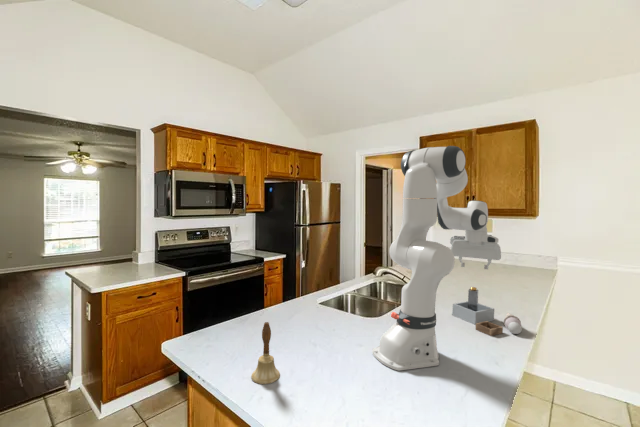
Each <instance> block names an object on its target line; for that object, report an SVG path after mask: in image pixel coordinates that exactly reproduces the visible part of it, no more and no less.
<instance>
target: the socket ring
mask: <svg viewBox="0 0 640 427" xmlns="http://www.w3.org/2000/svg"><path fill="white" fill-rule="evenodd" d="M503 330H504V326H501V325H498V324H496V323H493V322H492V321H489V322H488V321H485V322H480V323H476V325H475V331H477V332H480V333H482V334H486V335H488V336H490V337H493V336H498V335H501V334H502V335H503V333H504V332H503Z"/></svg>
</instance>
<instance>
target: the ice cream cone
mask: <svg viewBox="0 0 640 427" xmlns="http://www.w3.org/2000/svg"><path fill="white" fill-rule="evenodd" d="M503 325H504V326H505V328H506V329H507V330H508V331H509V332H510V333H511V334H513V335H519V334H520V333H521V332H522V323H521V320H520V318H518V317H517V316H515V315H514V314H511V313H509V312H507V313H506V315H505V317H504V320H503Z"/></svg>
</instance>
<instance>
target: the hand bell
mask: <svg viewBox="0 0 640 427" xmlns="http://www.w3.org/2000/svg"><path fill="white" fill-rule="evenodd" d="M271 337H272V330H271V326H270V322H269V321H266V322H264V323H263V327H262V330H261V338H262V343H263V350H262V351H263V355H261V356H259V357H258V360H257V361H258V362H257V366H256V368H255V370H254V371H253V372H252V373H251V376H250V377H251V380H252V382H254V383H256V384H259V385H269V384H270V385H271V384H273V383H275V382H277V381H278V380H279V379H280V377H281V373H280V371H279V370H278V369H277V368H276V365H275V359H274V356H273V355H271V354H270V341H271Z"/></svg>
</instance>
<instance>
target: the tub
mask: <svg viewBox="0 0 640 427" xmlns="http://www.w3.org/2000/svg"><path fill="white" fill-rule="evenodd" d="M451 315H452V316H453V317H456V318H458V319H461V320H462V321H466V322H468V323H470V324H472V325H475V326H476V323H480V322H485V321H488V322H493V321H495V308H493V307H491V306H487V305H485V304H481V303H479V302H478V311H476V312H475V311H473V310H470V309H468V300H467V301H461V302H457V303H456V302H455V303H452V314H451Z"/></svg>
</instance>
